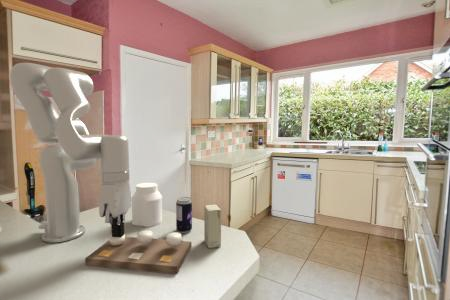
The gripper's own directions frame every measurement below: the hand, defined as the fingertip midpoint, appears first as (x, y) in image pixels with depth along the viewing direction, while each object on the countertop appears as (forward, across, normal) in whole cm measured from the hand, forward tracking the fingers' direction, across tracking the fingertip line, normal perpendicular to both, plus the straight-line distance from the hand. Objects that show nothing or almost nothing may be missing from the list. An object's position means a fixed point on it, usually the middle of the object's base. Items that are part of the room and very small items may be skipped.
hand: (118, 235), depth 75 cm
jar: (+5, -23, -1) cm, 24 cm away
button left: (+2, 0, 0) cm, 2 cm away
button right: (+1, 0, +18) cm, 18 cm away
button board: (+5, +2, +9) cm, 10 cm away
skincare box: (+5, -9, +28) cm, 30 cm away
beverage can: (+5, -17, +16) cm, 24 cm away
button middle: (+1, 0, +9) cm, 9 cm away
